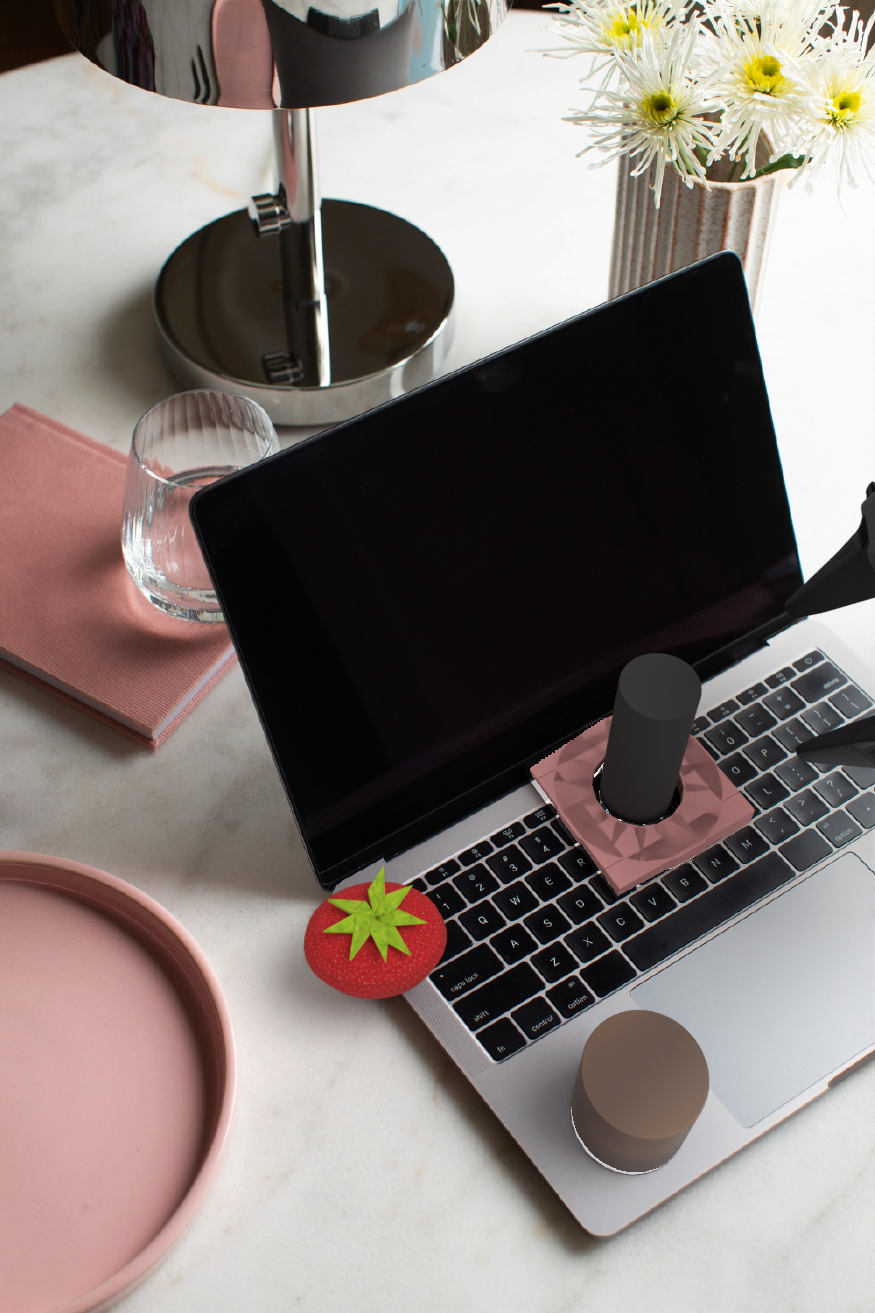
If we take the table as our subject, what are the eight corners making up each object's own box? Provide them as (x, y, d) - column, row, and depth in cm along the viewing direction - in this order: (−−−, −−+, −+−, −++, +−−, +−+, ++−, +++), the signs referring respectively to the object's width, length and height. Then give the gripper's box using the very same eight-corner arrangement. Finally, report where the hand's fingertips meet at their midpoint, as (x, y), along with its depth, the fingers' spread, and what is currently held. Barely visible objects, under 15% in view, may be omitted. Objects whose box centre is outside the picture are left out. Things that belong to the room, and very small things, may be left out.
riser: (710, 1134, 58) (736, 1095, 53) (614, 1199, 56) (631, 1165, 51) (640, 1034, 61) (657, 987, 56) (547, 1092, 60) (555, 1050, 54)
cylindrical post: (673, 829, 69) (707, 719, 59) (601, 829, 69) (622, 720, 59) (665, 767, 71) (696, 652, 62) (595, 767, 71) (615, 652, 62)
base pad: (753, 822, 69) (758, 810, 68) (616, 903, 66) (618, 892, 65) (651, 703, 74) (654, 690, 73) (520, 773, 71) (520, 760, 70)
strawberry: (312, 935, 65) (290, 855, 57) (442, 920, 65) (438, 838, 57) (316, 1037, 62) (294, 967, 54) (454, 1021, 62) (452, 949, 54)
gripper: (985, 300, 50) (696, 467, 60) (1077, 627, 39) (703, 766, 49) (1093, 444, 56) (812, 575, 66) (1200, 766, 45) (842, 866, 55)
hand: (793, 680), depth 59 cm, fingers open, 9 cm apart
